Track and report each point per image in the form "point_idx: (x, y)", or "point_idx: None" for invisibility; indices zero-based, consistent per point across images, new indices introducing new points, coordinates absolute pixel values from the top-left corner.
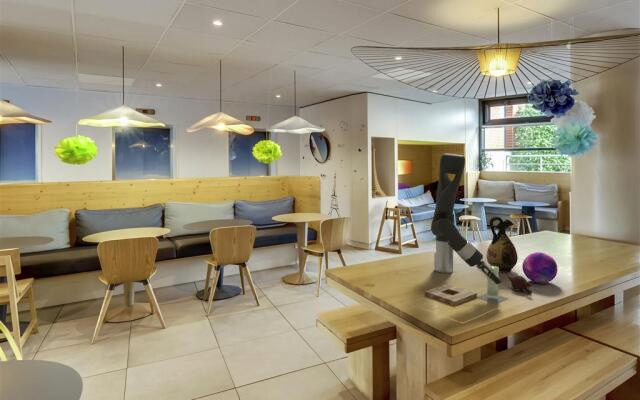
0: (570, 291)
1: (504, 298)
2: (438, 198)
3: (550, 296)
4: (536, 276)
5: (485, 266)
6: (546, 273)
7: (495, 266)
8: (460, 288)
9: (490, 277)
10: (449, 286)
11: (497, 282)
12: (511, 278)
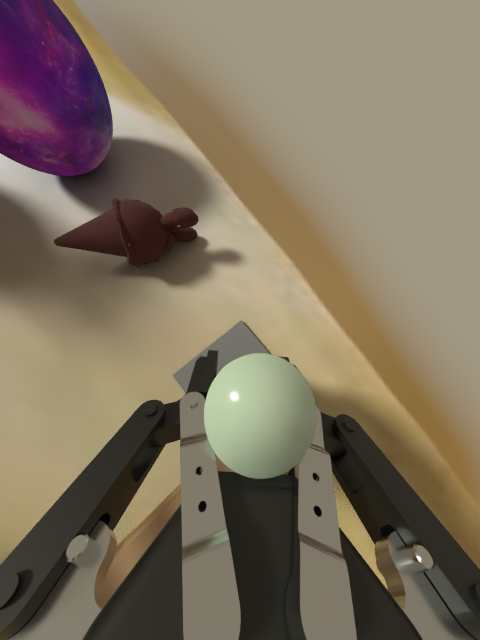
0: (175, 133)
1: (240, 337)
2: None
3: (213, 196)
4: (93, 147)
5: (381, 588)
6: (103, 104)
7: (228, 372)
8: (150, 529)
9: (348, 455)
10: (105, 601)
11: None
12: (91, 241)
